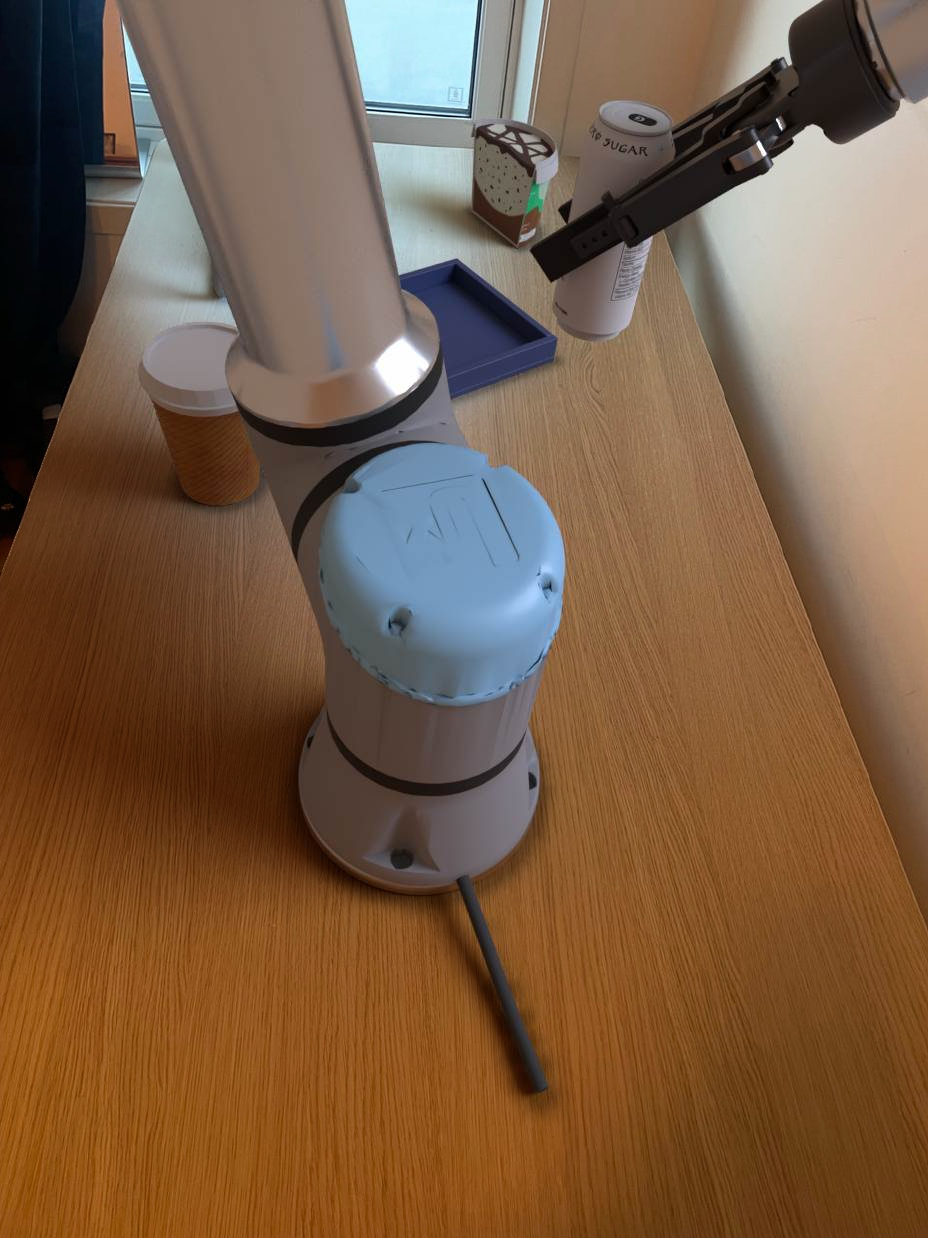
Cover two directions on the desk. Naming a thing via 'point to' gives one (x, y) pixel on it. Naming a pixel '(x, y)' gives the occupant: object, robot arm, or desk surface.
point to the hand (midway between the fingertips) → (556, 243)
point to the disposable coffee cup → (200, 411)
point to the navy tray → (478, 327)
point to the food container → (511, 176)
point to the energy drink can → (610, 161)
